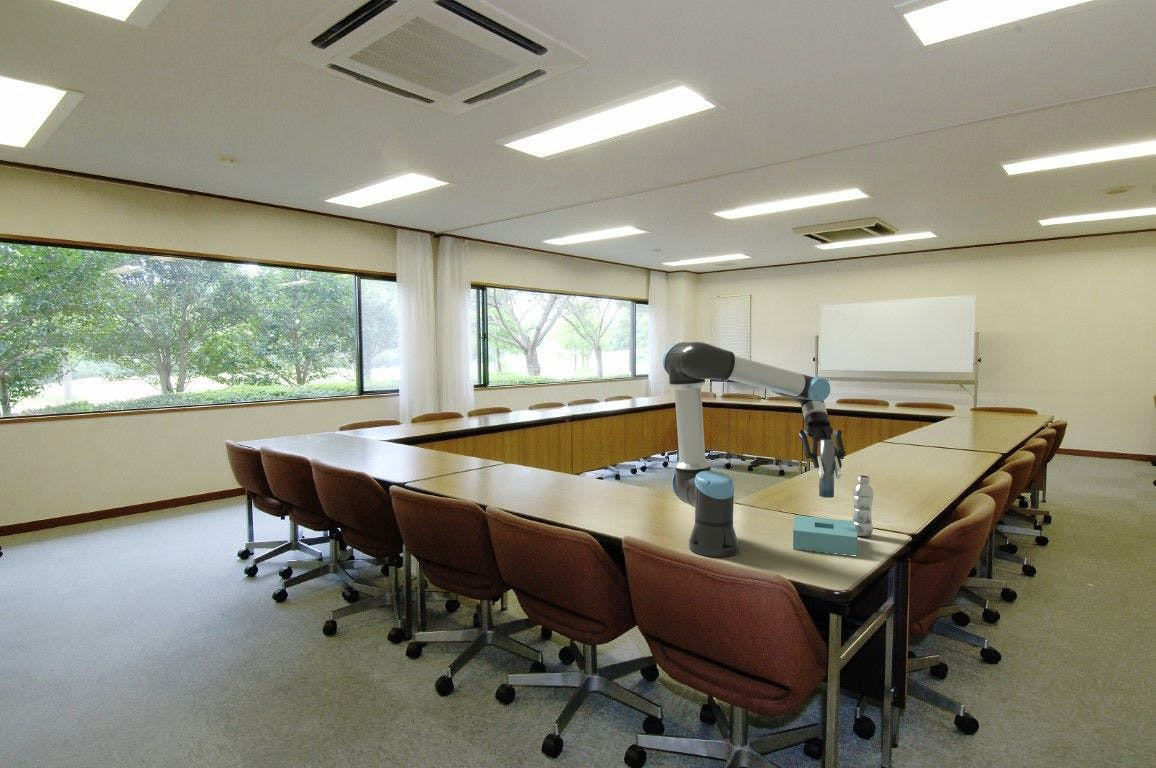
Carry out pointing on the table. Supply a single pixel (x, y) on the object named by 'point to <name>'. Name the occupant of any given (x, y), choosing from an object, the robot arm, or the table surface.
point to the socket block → (825, 535)
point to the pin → (827, 468)
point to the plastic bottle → (863, 506)
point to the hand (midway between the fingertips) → (830, 476)
